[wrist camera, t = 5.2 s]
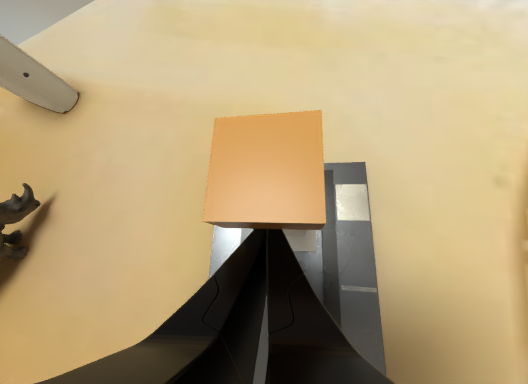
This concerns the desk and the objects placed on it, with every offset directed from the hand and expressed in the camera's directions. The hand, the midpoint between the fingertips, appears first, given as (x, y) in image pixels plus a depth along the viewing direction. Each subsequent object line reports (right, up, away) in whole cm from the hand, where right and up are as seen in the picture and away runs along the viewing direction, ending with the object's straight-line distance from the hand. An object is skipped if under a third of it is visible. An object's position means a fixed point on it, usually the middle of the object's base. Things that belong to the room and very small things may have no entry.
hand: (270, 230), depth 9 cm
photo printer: (-30, +15, +20) cm, 39 cm away
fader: (+2, 0, +8) cm, 8 cm away
